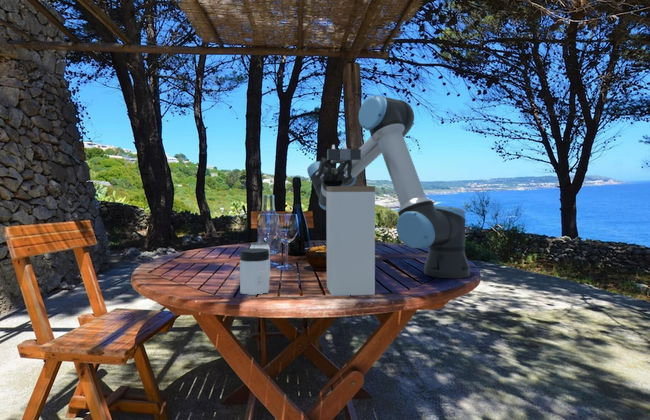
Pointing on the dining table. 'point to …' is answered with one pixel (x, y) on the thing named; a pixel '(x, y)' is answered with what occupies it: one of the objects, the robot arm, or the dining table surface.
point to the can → (264, 246)
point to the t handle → (343, 155)
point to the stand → (350, 240)
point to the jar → (254, 271)
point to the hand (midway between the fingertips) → (339, 148)
